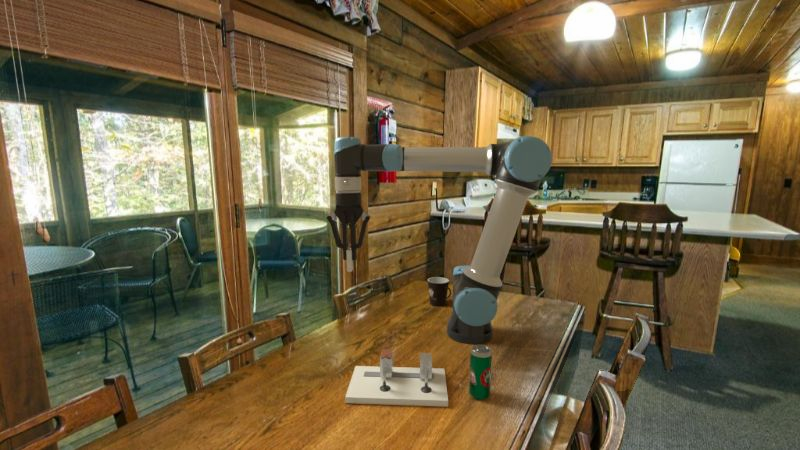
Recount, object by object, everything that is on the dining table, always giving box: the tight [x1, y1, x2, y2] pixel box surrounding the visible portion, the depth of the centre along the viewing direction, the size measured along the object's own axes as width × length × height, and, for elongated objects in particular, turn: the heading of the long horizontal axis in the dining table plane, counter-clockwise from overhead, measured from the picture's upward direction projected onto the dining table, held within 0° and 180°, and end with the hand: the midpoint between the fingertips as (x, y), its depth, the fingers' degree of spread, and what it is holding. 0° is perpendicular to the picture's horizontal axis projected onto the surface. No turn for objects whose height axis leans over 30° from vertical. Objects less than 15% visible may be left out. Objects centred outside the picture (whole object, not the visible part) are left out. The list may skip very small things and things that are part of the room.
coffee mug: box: [427, 276, 452, 308], centre depth 149 cm, size 12×9×10 cm
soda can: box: [468, 344, 493, 401], centre depth 89 cm, size 5×5×12 cm
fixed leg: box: [419, 352, 433, 389], centre depth 93 cm, size 3×8×6 cm, turn 177°
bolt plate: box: [344, 365, 449, 408], centre depth 93 cm, size 24×14×2 cm, turn 87°
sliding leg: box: [379, 348, 394, 387], centre depth 93 cm, size 3×8×6 cm, turn 177°
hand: (350, 270), depth 111 cm, fingers closed
